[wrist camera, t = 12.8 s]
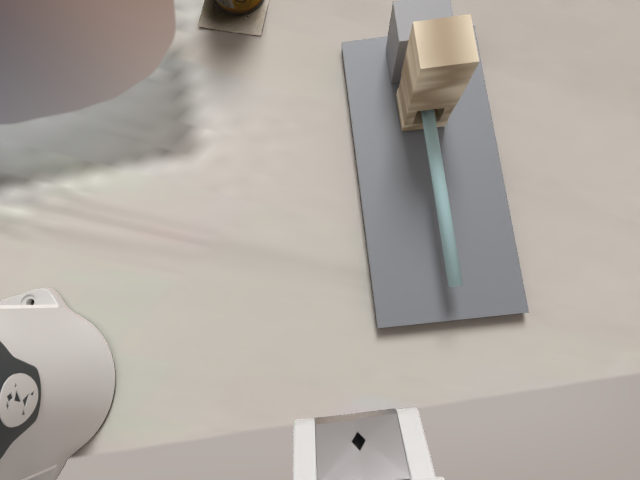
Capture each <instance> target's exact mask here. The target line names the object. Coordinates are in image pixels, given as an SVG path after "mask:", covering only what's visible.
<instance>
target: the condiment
mask: <svg viewBox="0 0 640 480" xmlns="http://www.w3.org/2000/svg"><path fill="white" fill-rule="evenodd" d="M268 3H269V0H205V1H204V5H203V10H202V13H201V16H200V19H199V23H198V26H199V27H205V28H209V29H215V30H221V31H228V32H234V33H244V34H249V35H250V34H252V35H260V36H261V33H262V28H263V24H264V19H265V15H266V11H267V7H268ZM215 5H216V6H215ZM248 15H250V16H249V17H248ZM246 17H247V19H245V18H246Z"/></svg>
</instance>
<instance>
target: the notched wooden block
mask: <svg viewBox="0 0 640 480" xmlns="http://www.w3.org/2000/svg"><path fill="white" fill-rule="evenodd" d="M478 63H479V56H478V51H477V45H476V40H475V35H474V29H473V24H472V19H471V14H468V15H460V16H453V17H445V18H438V19H430V20H423V21H415V22H413V24H412V28H411V32H410V37H409V41H408V45H407V50H406V54H405V58H404V63H403V67H402V72H401V75H402V76H401V80H400V84H399V88H398V89H397V93H396V98H397V105H398V112H399V119H400V125H401V132H403V131H411V130H419V129H424V128H423V121H422V115H421V111H424V110H432V109H434V112H435V118H436V124H437V127H443V126H446V124H447V122H448V120H449V119H448V118H449V116H450V114H451V113H452V111H453V109H454V107H456V105H457V103H458V101H459V99H460V97H461V96H462V94H463V92H464V90H465V88H466V86H467V84H468V82H469V80H470V79H471V77H472V75H473V73H474V71H475V69H476V67H477V65H478Z"/></svg>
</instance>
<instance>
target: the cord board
mask: <svg viewBox="0 0 640 480" xmlns="http://www.w3.org/2000/svg"><path fill="white" fill-rule="evenodd" d="M445 17H453V11H452V6H451V0H400V1H393V6H392V12H391V19H390V25H389V32H388V36H387V37H379V38H371V39H364V40H356V41H349V42H342V54H343V62H344V70H345V78H346V86H347V94H348V102H349V110H350V118H351V126H352V134H353V142H354V150H355V157H356V165H357V173H358V181H359V189H360V197H361V205H362V213H363V221H364V229H365V237H366V245H367V253H368V260H369V268H370V276H371V284H372V292H373V300H374V308H375V316H376V324H377V328H385V327H395V326H404V325H414V324H423V323H433V322H442V321H452V320H461V319H471V318H480V317H490V316H499V315H509V314H518V313H528V312H529V311H528V306H527V300H526V295H525V290H524V285H523V279H522V274H521V269H520V264H519V258H518V253H517V248H516V243H515V237H514V232H513V227H512V222H511V216H510V211H509V206H508V201H507V195H506V190H505V185H504V180H503V174H502V169H501V164H500V159H499V153H498V148H497V143H496V138H495V132H494V127H493V122H492V117H491V111H490V106H489V101H488V96H487V90H486V85H485V80H484V75H483V69H482V64H481V59H480V54H479V48H478V43H477V38H476V33H475V27H474V25H473V29H474V35H475V40H476V45H477V51H478V56H479V63H478V65H477V67H476V69H475V71H474V73H473V75H472V77H471V79H470V80H469V82H468V84H467V86H466V88H465V90H464V92H463V94H462V96H461V97H460V99H459V101H458V103H457V105H456V107H454V109H453V111H452V113H451V114H450V116H449V118H448V119H449V120H448V122H447V124H446V126H443V127H437V124H436V118H435V112H434V109H432V110H424V111H421V115H422V121H423V128H424V129H419V130H411V131H403V132H401V125H400V119H399V112H398V105H397V98H396V93H397V89H398V88H399V84H400V80H401V76H402V75H401V72H402V67H403V63H404V58H405V54H406V50H407V45H408V41H409V37H410V32H411V28H412V24H413V22H415V21H423V20H430V19H438V18H445Z"/></svg>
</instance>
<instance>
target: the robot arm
mask: <svg viewBox="0 0 640 480" xmlns="http://www.w3.org/2000/svg"><path fill="white" fill-rule="evenodd" d="M32 300H34V305H31V302H32ZM114 389H115V368H114V362H113V358H112V354H111V351H110V349H109V346H108V344H107V342H106V340H105V339H104V337H103V336H102V334H101V333H100V332H99V331H98V330H97V328H96V327H95V326H94V325H92V324H91V323H90V322H89V321H87V320H86V319H84V318H83V317H81V316H79V315H78V314H76V313H74V312H73V311H71V310H70V309H69V308H68V307H67V306H66V304H65V303H64V301H63V300H62V298H61V297H60V295H59V294H58V293H57V292H56V291H55V290H54V289H52V288H38V289H35V290H32V291H28V292H25V293H22V294H19V295H16V296H13V297H9V298H6V299H3V300H0V480H56V479H57V477H58V476H59V474H60V472H61V471H62V469H63V467H64V465H65V463H66V462H67V460H68V459H69V458H70V457H71V456H72V455H73V454H74V453H75V452H76V451H77V450H78V449H80V448H81V447H82V446H83V445H85V444H86V443H87V442H88V441H89V440H90V439H91V438H92V437H93V436H94V434H95V433H96V432H97V431H98V429H99V428H100V426H101V425H102V423H103V421H104V420H105V418H106V416H107V413H108V411H109V409H110V406H111V403H112V399H113V395H114ZM293 480H445V479H444V478H443V477H436V476H435V472H434V468H433V464H432V460H431V456H430V452H429V448H428V445H427V441H426V437H425V433H424V429H423V425H422V422H421V418H420V414H419V411H418V410H417V408H416V407H407V408H399V409H387V410H379V411H370V412H362V413H355V414H347V415H337V416H328V417H318V418H315V417H314V418H305V419H297V420H295V421H294V427H293Z"/></svg>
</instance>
